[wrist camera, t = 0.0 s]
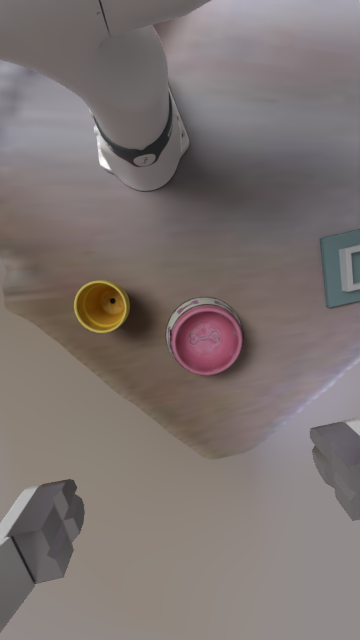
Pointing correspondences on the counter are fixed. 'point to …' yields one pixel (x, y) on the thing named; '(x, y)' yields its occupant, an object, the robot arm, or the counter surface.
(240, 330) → the dog bowl
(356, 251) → the socket plate
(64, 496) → the robot arm
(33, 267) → the counter surface
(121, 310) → the plant pot
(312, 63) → the counter surface
